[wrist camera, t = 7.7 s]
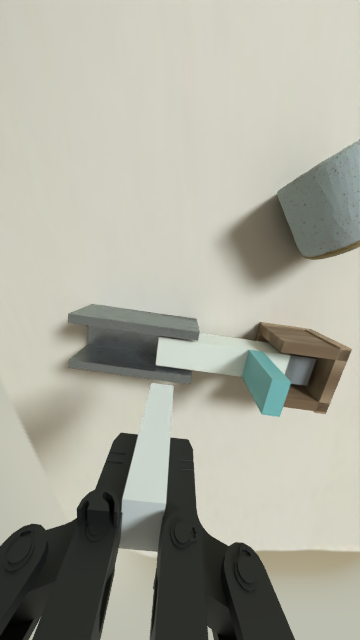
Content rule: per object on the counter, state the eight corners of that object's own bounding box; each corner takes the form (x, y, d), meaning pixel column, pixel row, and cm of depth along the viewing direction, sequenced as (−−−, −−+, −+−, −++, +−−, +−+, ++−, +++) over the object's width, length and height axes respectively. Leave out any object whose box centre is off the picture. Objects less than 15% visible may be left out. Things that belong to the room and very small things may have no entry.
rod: (162, 327, 25) (149, 362, 16) (298, 346, 25) (364, 391, 16) (159, 352, 26) (145, 398, 17) (291, 370, 26) (348, 425, 17)
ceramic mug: (290, 265, 24) (340, 263, 16) (263, 201, 22) (305, 166, 15) (376, 217, 23) (472, 192, 15) (354, 145, 21) (451, 76, 13)
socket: (260, 322, 26) (284, 339, 20) (311, 329, 26) (351, 349, 20) (246, 374, 28) (264, 405, 22) (293, 381, 28) (325, 414, 22)
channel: (92, 304, 26) (68, 313, 20) (196, 318, 26) (199, 332, 21) (91, 348, 27) (68, 367, 22) (189, 361, 28) (190, 384, 22)
